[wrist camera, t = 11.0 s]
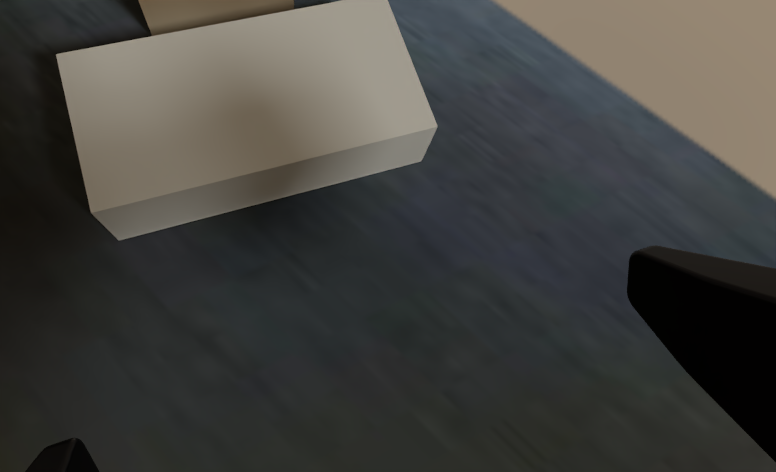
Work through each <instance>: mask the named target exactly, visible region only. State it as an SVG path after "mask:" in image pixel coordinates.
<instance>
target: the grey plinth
mask: <svg viewBox="0 0 776 472" xmlns="http://www.w3.org/2000/svg"><path fill="white" fill-rule="evenodd" d="M56 57H57V62H58V66H59V71H60V75H61V80H62V84H63V89H64V93H65V98H66V102H67V107H68V112H69V116H70V121H71V125H72V130H73V134H74V139H75V143H76V148H77V152H78V157H79V161H80V166H81V170H82V175H83V179H84V184H85V188H86V193H87V197H88V202H89V206H90V211H91V214H92V215H93V216H94V217H95V218H96V219H97V220H99V221H100V222H101V223H102V224H103V225H104V226H105V227H106V228H107V229H108V230H109V231H110V232H111V233H112V234H113V235H114V236H115V237H116V238H117V239H118V240H119V241H120V240H124V239H127V238H131V237H135V236H139V235H143V234H146V233H150V232H154V231H158V230H162V229H165V228H169V227H173V226H177V225H181V224H184V223H188V222H192V221H196V220H200V219H204V218H207V217H211V216H215V215H219V214H223V213H226V212H230V211H234V210H238V209H242V208H245V207H249V206H253V205H257V204H261V203H264V202H268V201H272V200H276V199H280V198H284V197H287V196H291V195H295V194H299V193H303V192H306V191H310V190H314V189H318V188H322V187H325V186H329V185H333V184H337V183H341V182H344V181H348V180H352V179H356V178H360V177H364V176H367V175H371V174H375V173H379V172H383V171H386V170H390V169H394V168H398V167H402V166H405V165H409V164H413V163H417V162H421V161H422V159H423V157H424V155H425V153H426V150H427V148H428V146H429V144H430V142H431V140H432V138H433V135H434V133H435V131H436V129H437V127H438V126H437V124H436V121H435V119H434V116H433V114H432V111H431V109H430V106H429V104H428V101H427V99H426V96H425V94H424V91H423V88H422V86H421V83H420V81H419V78H418V76H417V73H416V71H415V68H414V66H413V63H412V61H411V58H410V56H409V53H408V51H407V48H406V46H405V43H404V41H403V38H402V36H401V33H400V31H399V28H398V25H397V23H396V20H395V18H394V15H393V13H392V10H391V8H390V5H389V3H388V0H343V1H337V2H332V3H327V4H321V5H316V6H311V7H305V8H300V9H295V10H289V11H284V12H279V13H273V14H268V15H263V16H257V17H252V18H247V19H241V20H236V21H231V22H225V23H220V24H215V25H209V26H204V27H198V28H193V29H188V30H182V31H177V32H172V33H166V34H161V35H156V36H150V37H145V38H140V39H134V40H129V41H124V42H118V43H113V44H108V45H102V46H97V47H92V48H86V49H81V50H76V51H70V52H65V53H60V54H56Z"/></svg>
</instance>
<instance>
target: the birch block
mask: <svg viewBox="0 0 776 472" xmlns="http://www.w3.org/2000/svg"><path fill="white" fill-rule="evenodd" d="M138 1H139V3H140V6H141V8H142V11H143V14H144V16H145V19H146V21H147V24H148V27H149V29H150V32H151V34H152V36H156V35H161V34H166V33H172V32H177V31H182V30H188V29H193V28H198V27H204V26H209V25H215V24H220V23H225V22H231V21H236V20H241V19H247V18H252V17H257V16H263V15H268V14H273V13H279V12H284V11H289V10H294V0H138Z"/></svg>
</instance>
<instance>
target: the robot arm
mask: <svg viewBox="0 0 776 472" xmlns="http://www.w3.org/2000/svg"><path fill="white" fill-rule="evenodd" d="M627 295H628V298H629V301H630V303H631V305H632V306H633V307H634V309H635V310H636V311H637V312H638V313H639V315H640V316H641V317H642V318H643V320H644V321H645V322H646V323H647V324H648V326H649V327H650V328H651V329H652V331H653V332H654V333H655V334H656V336H657V337H658V338H659V339H660V340H661V342H662V343H663V344H664V345H665V347H666V348H667V349H668V350H669V352H670V353H671V354H672V355H673V356H674V358H675V359H676V360H677V361H678V362H679V364H680V365H681V366H682V367H683V368H684V369H685V371H686V372H687V373H688V374H689V375H690V376H691V377H692V378H693V379H694V380H695V381H696V382H697V383H698V384H699V385H700V386H701V387H702V388H703V389H704V390H705V391H706V392H707V393H708V394H709V395H710V396H711V397H712V398H713V399H714V400H715V401H716V403H717V404H718V405H719V406H720V407H721V408H722V409H723V410H724V411H725V412H726V413H727V414H728V415H729V416H730V417H731V418H732V419H733V420H734V421H735V422H736V423H737V424H738V425H739V426H740V427H741V428H742V429H743V430H744V431H745V432H746V433H747V434H748V435H749V436H750V437H751V438H752V439H753V440H754V441H755V442H756V443H757V444H758V445H759V446H760V447H761V448H762V449H763V450H764V451H765V452H766V453H767V454H768V455H769V456H770V457H771V458H772V459H773V460H774V461H775V462H776V269H775V268H770V267H765V266H759V265H754V264H749V263H744V262H739V261H734V260H728V259H723V258H718V257H713V256H708V255H702V254H697V253H692V252H687V251H682V250H677V249H671V248H666V247H661V246H649V247H646V248H643V249H640V250H637V251H635V252H634V253H632V255H631V257H630V259H629V270H628V284H627ZM25 472H99V470H98V468H97V467H96V465H95V463H94V461H93V459H92V458H91V456H90V454H89V452H88V450H87V449H86V447H85V445H84V443H83V442H82V441H81V440H80V439H77V438H71V439H68V440H65V441H62V442H59V443H56V444H53V445H50V446H48V447H46V448H45V449H43V451H42V452H41V453H40V454H39V455H38V456H37V458H36V459H35V460H34V461H33V462H32V464H31V465H30V466H29V467H28V469H27V470H26V471H25Z"/></svg>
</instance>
